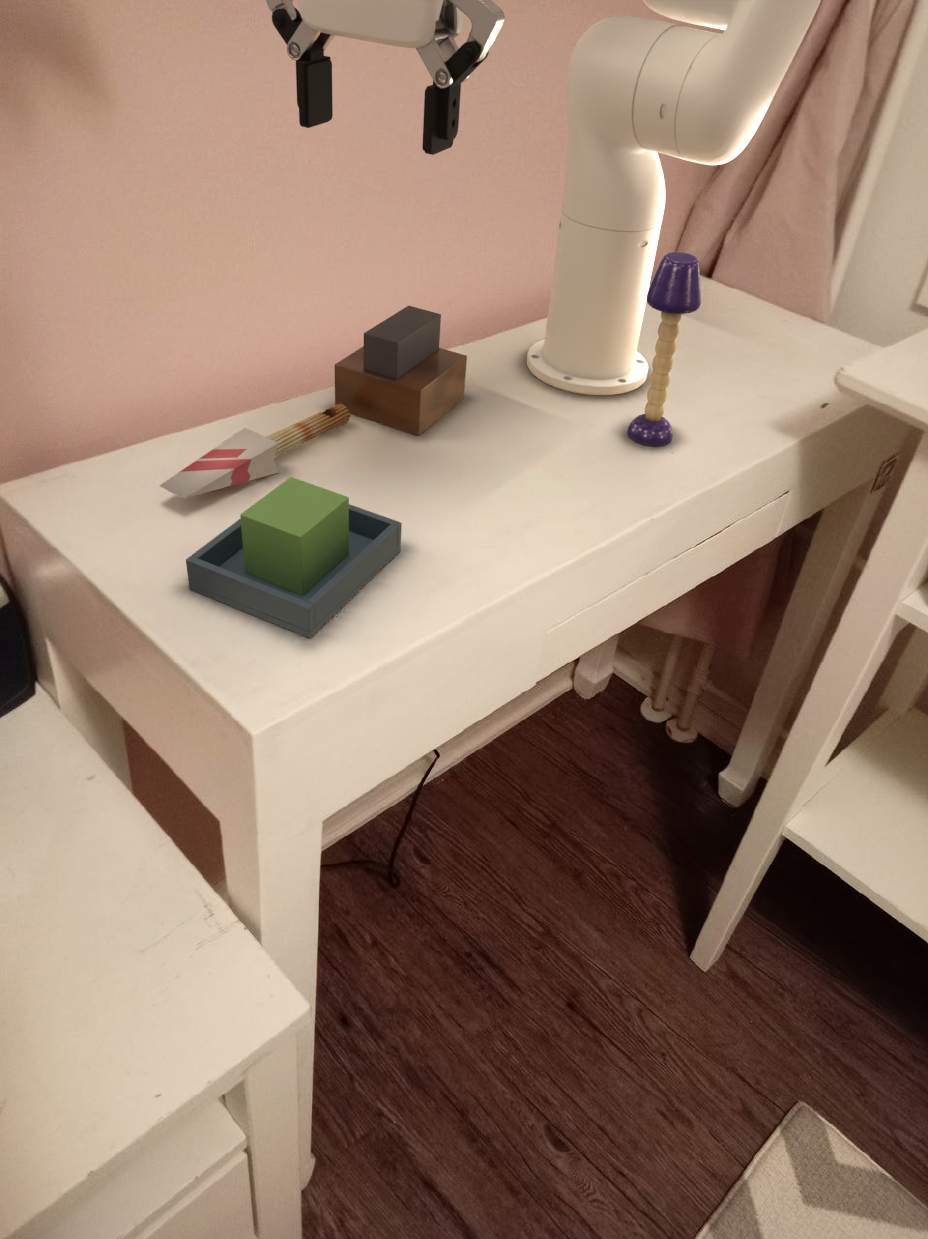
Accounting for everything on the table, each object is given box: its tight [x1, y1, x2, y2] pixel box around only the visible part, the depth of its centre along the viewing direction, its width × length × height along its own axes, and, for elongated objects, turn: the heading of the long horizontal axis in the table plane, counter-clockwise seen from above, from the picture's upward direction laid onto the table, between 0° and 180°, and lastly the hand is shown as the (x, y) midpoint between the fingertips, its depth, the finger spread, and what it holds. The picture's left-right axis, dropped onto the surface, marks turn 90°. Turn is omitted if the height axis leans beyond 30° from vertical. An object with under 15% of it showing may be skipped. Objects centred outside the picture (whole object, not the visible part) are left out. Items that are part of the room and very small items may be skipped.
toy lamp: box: [626, 251, 702, 447], centre depth 87 cm, size 5×5×17 cm
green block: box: [239, 476, 350, 595], centre depth 70 cm, size 6×5×5 cm
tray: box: [185, 503, 402, 639], centre depth 71 cm, size 12×10×3 cm
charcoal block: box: [363, 305, 442, 380], centre depth 89 cm, size 8×4×4 cm, turn 153°
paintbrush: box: [158, 404, 351, 500], centre depth 82 cm, size 4×3×20 cm
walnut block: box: [334, 345, 468, 437], centre depth 92 cm, size 9×9×4 cm
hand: (375, 136), depth 67 cm, fingers open, 9 cm apart
